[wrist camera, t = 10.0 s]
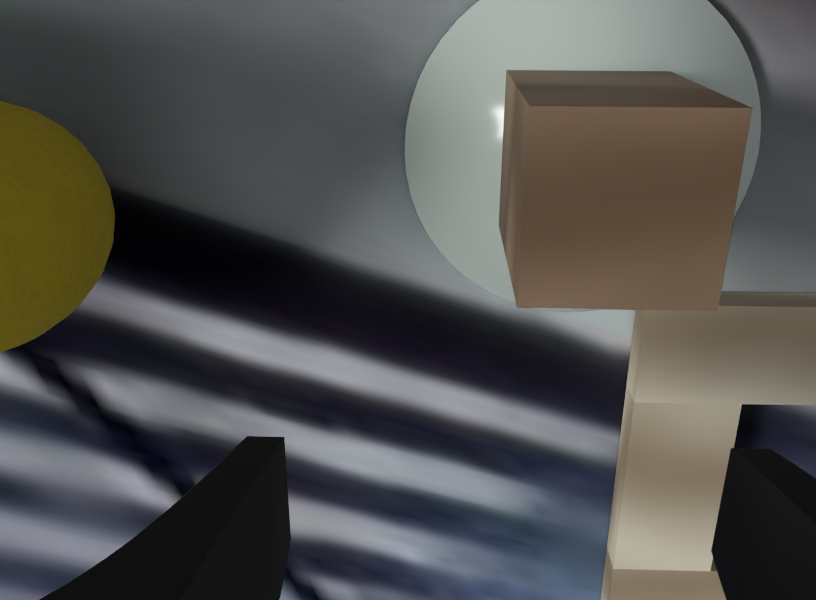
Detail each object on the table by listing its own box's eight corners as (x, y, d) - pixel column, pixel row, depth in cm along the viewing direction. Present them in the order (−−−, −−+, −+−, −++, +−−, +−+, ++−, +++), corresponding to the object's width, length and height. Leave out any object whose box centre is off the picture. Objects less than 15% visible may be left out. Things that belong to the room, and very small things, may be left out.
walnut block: (650, 227, 21) (717, 310, 16) (498, 225, 21) (516, 307, 16) (670, 70, 19) (752, 108, 14) (506, 69, 19) (529, 105, 14)
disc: (725, 308, 22) (730, 314, 22) (405, 304, 22) (405, 310, 22) (785, -42, 18) (791, -42, 18) (404, -40, 19) (403, -40, 18)
